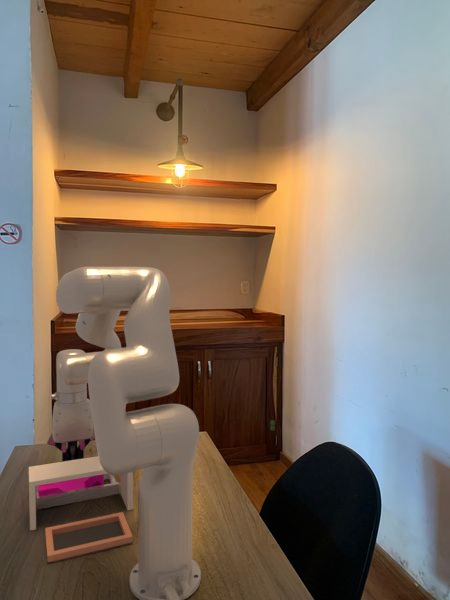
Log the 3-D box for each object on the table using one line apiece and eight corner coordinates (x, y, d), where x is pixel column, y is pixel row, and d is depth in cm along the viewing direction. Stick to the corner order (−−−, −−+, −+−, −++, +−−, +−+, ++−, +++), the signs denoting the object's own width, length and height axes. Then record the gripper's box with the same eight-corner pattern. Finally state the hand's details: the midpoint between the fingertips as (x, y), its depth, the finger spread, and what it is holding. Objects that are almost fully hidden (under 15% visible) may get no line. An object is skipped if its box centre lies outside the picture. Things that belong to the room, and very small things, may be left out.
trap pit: (132, 543, 91) (132, 536, 91) (47, 563, 85) (47, 556, 84) (122, 518, 100) (122, 511, 100) (45, 535, 94) (45, 528, 94)
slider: (119, 493, 110) (119, 459, 110) (37, 509, 103) (36, 473, 102) (107, 463, 127) (106, 434, 126) (35, 475, 119) (34, 444, 119)
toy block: (38, 509, 104) (38, 478, 103) (38, 497, 109) (37, 467, 109) (105, 497, 110) (105, 467, 109) (101, 485, 116) (101, 457, 115)
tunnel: (132, 509, 104) (132, 464, 103) (30, 530, 95) (29, 482, 94) (125, 493, 111) (125, 451, 111) (29, 511, 102) (28, 466, 102)
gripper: (39, 403, 113) (40, 475, 114) (105, 396, 119) (106, 464, 121) (38, 396, 120) (39, 463, 121) (101, 390, 126) (101, 454, 127)
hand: (73, 463), depth 121 cm, fingers closed on slider, 2 cm apart
